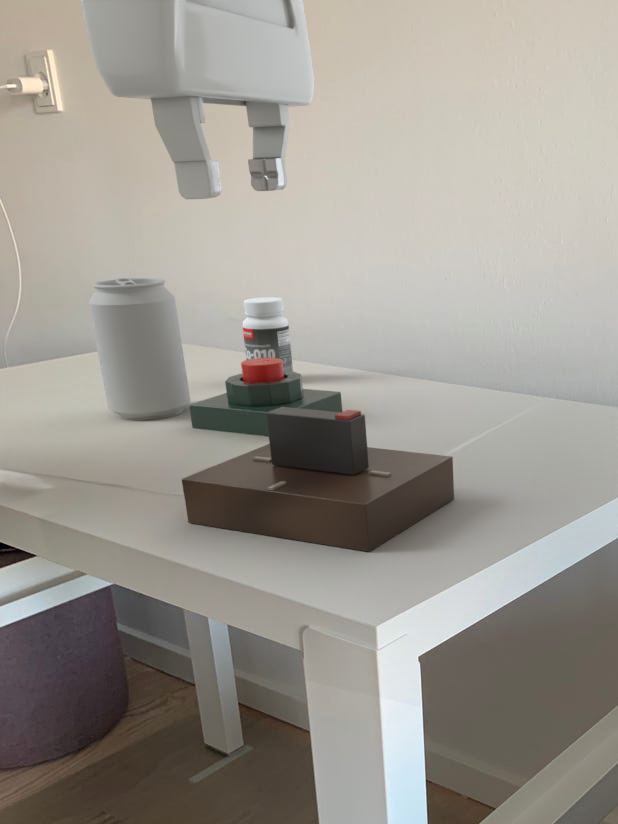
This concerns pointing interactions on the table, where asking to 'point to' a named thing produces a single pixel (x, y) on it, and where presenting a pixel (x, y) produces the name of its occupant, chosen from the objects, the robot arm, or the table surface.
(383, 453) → the brown wooden base
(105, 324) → the can
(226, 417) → the button box
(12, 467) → the table surface
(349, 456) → the dark grey rectangular block
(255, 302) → the pill bottle
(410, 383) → the table surface
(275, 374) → the button
